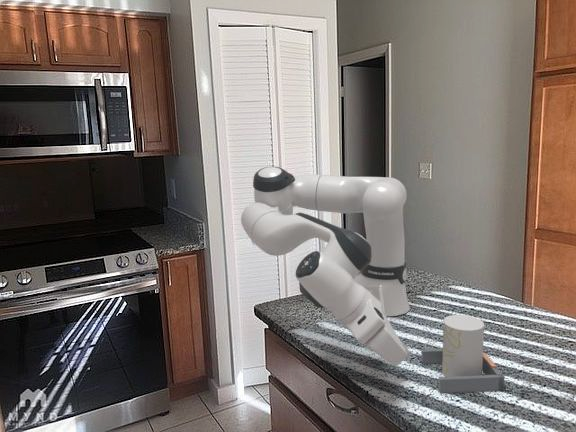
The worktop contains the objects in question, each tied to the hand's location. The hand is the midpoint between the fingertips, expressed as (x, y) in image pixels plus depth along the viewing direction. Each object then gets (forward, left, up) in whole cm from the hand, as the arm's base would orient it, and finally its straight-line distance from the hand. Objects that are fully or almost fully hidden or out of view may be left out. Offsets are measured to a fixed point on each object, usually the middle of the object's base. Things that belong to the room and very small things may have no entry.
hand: (406, 353), depth 98 cm
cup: (+10, +7, -6) cm, 14 cm away
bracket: (+10, +6, -6) cm, 13 cm away
